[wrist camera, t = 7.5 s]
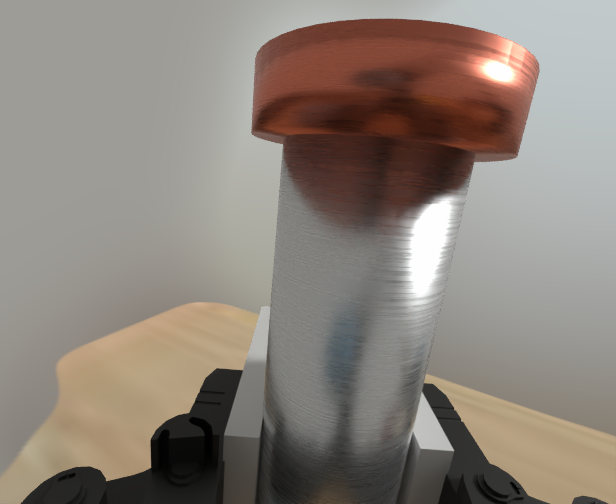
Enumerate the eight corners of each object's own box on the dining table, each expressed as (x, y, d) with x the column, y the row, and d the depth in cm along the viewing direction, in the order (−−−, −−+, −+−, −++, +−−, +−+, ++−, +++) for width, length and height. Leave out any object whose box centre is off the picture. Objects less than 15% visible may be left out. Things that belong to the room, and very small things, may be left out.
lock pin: (301, 573, 14) (364, 115, 9) (391, 715, 10) (569, 99, 6) (195, 680, 11) (207, 65, 6) (276, 931, 7) (455, -38, 3)
